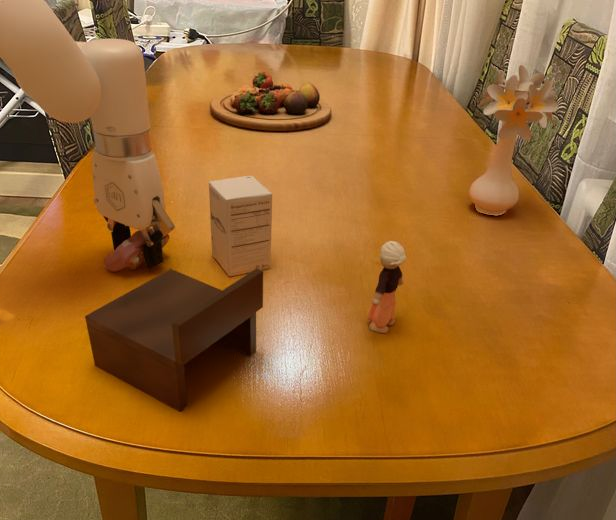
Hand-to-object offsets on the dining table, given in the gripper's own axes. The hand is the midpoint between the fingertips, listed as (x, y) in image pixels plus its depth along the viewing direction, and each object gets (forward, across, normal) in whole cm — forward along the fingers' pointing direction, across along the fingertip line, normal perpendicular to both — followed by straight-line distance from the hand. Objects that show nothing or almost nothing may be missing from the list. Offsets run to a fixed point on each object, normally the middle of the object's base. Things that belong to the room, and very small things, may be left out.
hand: (138, 257), depth 93 cm
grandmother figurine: (+1, +38, +8) cm, 39 cm away
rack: (+1, +21, -14) cm, 25 cm away
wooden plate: (+1, -32, +78) cm, 84 cm away
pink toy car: (+1, 0, 0) cm, 1 cm away
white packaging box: (+1, +12, +10) cm, 16 cm away
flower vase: (+1, +37, +56) cm, 67 cm away
